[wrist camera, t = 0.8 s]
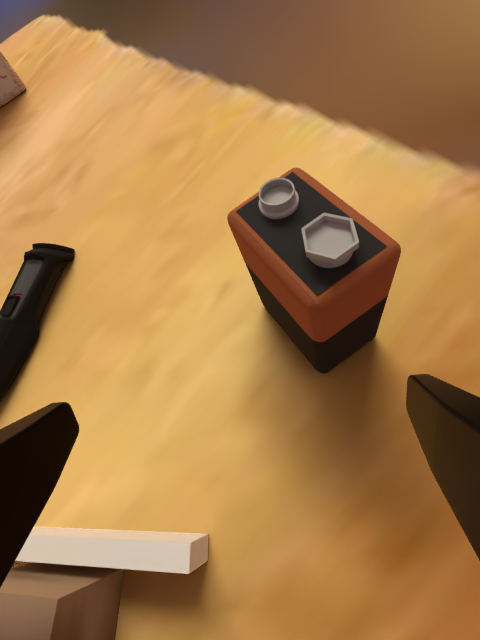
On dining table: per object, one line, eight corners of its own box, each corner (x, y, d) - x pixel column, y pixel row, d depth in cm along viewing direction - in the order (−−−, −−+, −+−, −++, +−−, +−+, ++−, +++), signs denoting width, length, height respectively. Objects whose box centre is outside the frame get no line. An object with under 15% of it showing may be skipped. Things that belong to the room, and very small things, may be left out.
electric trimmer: (-22, 411, 26) (-65, 405, 23) (50, 252, 32) (23, 232, 29) (12, 418, 25) (-28, 412, 22) (81, 252, 31) (56, 230, 28)
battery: (321, 378, 19) (312, 302, 11) (260, 303, 23) (214, 198, 14) (379, 336, 20) (415, 228, 11) (309, 268, 23) (294, 142, 14)
